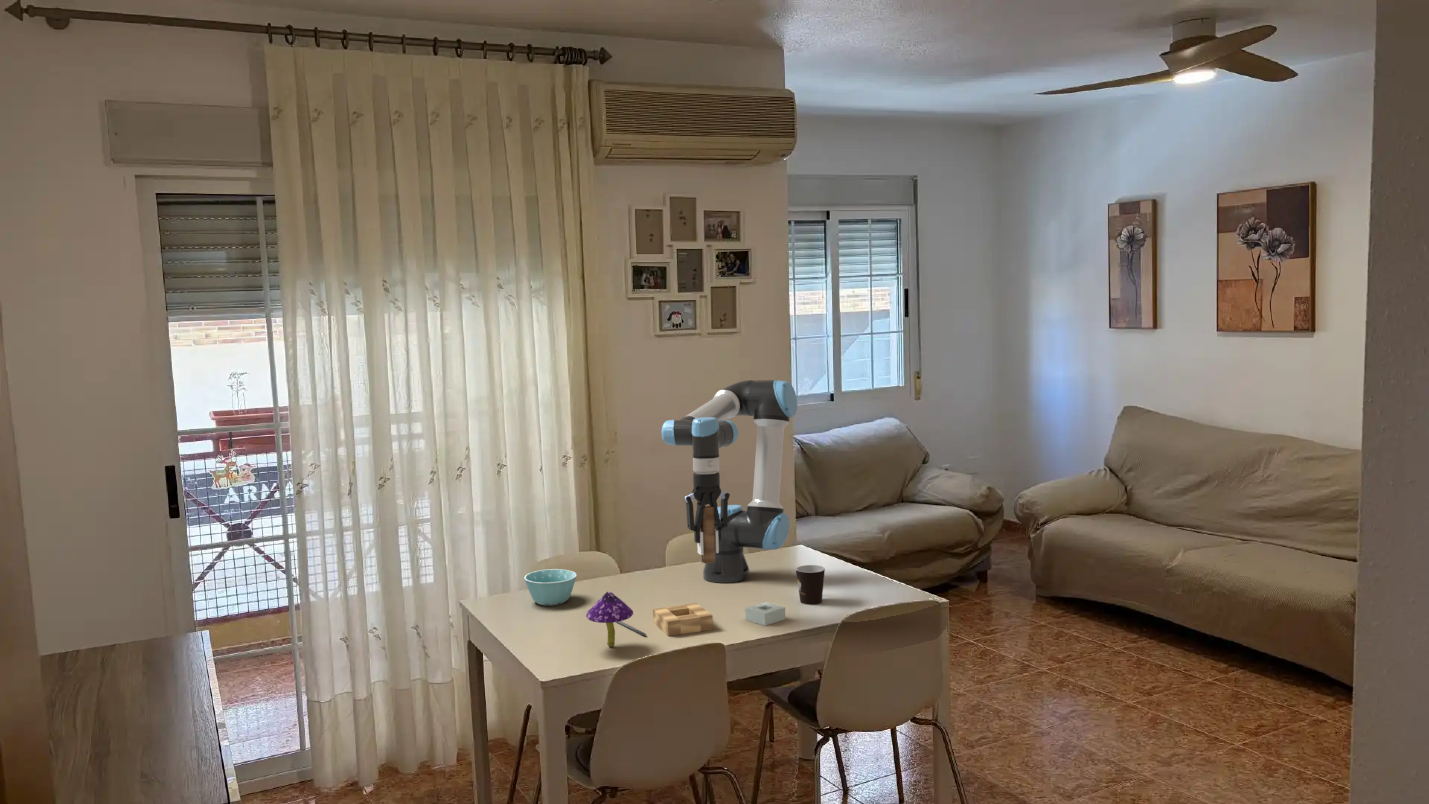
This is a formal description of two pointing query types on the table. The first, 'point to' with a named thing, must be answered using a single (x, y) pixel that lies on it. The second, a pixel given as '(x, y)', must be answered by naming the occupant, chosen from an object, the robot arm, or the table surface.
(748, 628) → the table surface
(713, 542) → the brown wooden bar
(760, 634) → the table surface
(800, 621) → the table surface
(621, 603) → the decorative mushroom
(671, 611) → the wooden square socket block
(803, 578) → the coffee mug
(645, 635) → the dark grey rod
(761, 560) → the table surface
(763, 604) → the grey square socket block
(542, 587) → the bowl
